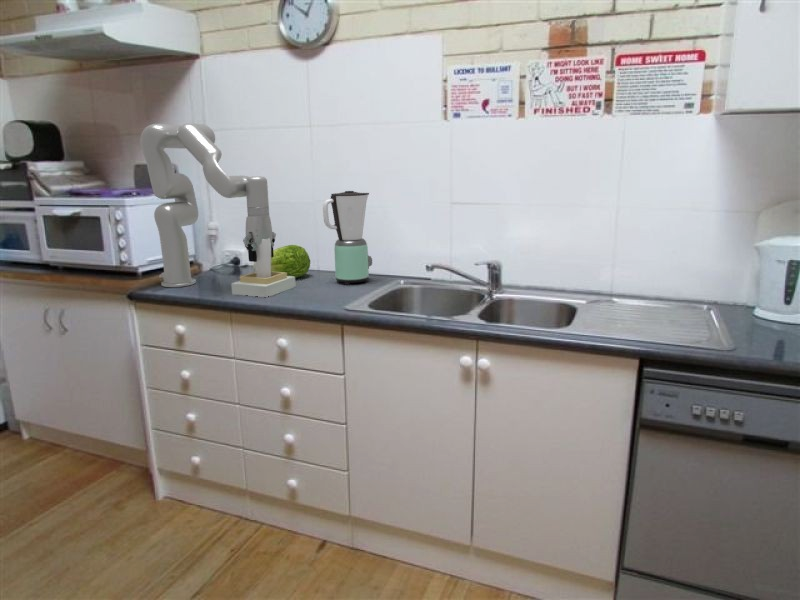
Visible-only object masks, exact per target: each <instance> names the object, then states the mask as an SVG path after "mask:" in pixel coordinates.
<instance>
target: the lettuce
mask: <svg viewBox="0 0 800 600" xmlns="http://www.w3.org/2000/svg"><path fill="white" fill-rule="evenodd" d="M273 254H274V257H271V271H273V272H285V273H287V276H294V277H295V279H297V278H298V279H299V278H300V277H301V276H304V275H306V274H307V273H308V272H309V269H310V267H311V259H310V255H309V253H308V252H307V251H306V249H305V248H304V247H303V246H299V245H296V244H289V245H285V246H281V247H278V248H276V249H273ZM252 267H253V269H254V270H255V264H254V263H253V266H252Z"/></svg>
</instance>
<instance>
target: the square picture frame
mask: <svg viewBox="0 0 800 600" xmlns="http://www.w3.org/2000/svg"><path fill="white" fill-rule="evenodd" d="M296 285H297V284H296V278H295V277H294V276H287V273H285V272H273V271H271V277H268V278H258V277H256V271H253V272H249V273H246V274H244V275H240V276H239V280H238V281H235V282H231V285H230V286H231V294H232V295H237V296H245V295H248V296H247V297H255V296H258V298H264V297H267V298H269V297H272V296H274V295H277V294H279V293H283V292H285V291H288V290H291V289H294V288H296V287H297V286H296ZM268 296H269V297H268Z"/></svg>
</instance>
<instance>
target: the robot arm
mask: <svg viewBox="0 0 800 600" xmlns="http://www.w3.org/2000/svg"><path fill="white" fill-rule="evenodd" d="M215 143H216V135H215V132H214V131H213V129H212V128H211V127H210V126H209V125H206V124H200V123H193V122H192V123H191V122H190V123H188V122H187V123H184V124H182V125H178V124H168V123H153V124H149V125H148V126H145V128H144V129H143V130H142V132H141V135H140V148H141V151H142V154H143V157H144V160H145V161H146V167H147V172H148V175H149V179H150V180H149V181H150V184H151V188H152V191H153V194H154V196H155V197H156V198H158V199H160V200H171V199H174V201H172V202H164V203H161V204H160V205H158V206H157V207H156V208H155V209H154V213H153V214H154V215H153V217H154V221H155V222H154V223H156V224H155V225H156V227H157V231H158V234H159V242H160V243H159V244H160V248H161V249H160V250H161V257H162V264H163V272H161V273H160V274H159V275H158V278H160V279H163V281H161V283H160V284H161V287H164V288H180V287H187V286H192V285H195V284H196V282H197V281H196V278H193V277H192V273H191V266H190V263H191V262H190V254H189V247H188V246H189V245H188V239H187V235H186V233H185V231H184V229H183V227H186V226H187V227H188V226H191V225H193V224H195V223H196V222H197V221H198V218H199V210H198V209H199V208H198V207H199V206H198V204H197V203H198V202H197V199H196V194H195V193H196V192H195V190H194V185H193V183H192V181H191V179H190V178H189V177H188V176H187V175H185V174H184V173H181V172H180V173H179V172H176V173H175V172H174V168H173V164H172V161H171V159H170V157H169V155H168V153H166V151H165V149H186V151H188V152H189V153H190V154H191V156H192V157H193V158H194V159H195V160H196V161H198V163H199V164H200V165H201V166H202V172H203V175H204V178H205V180H206V182H207V183H208V184H209V185H210V186H211V188H213V190H215V192H217V193H218V194H219V195H220V196H221V197H222V198H227V199H233V198H245V197H246V208H247V209H246V210H247V211H246V212H247V216H246V219H245V236H244V238H243V239H242V242H243V245H244V248H246V251H247V253H248V254H247V255H248V262H253V263H254V262H257V253H256V251H255V249H256V246H257V245H259V244H261V242H262V239H268V238H270V241H271V257H274V254H273V250H274V247H275V241H276V236H277V234H276V233H275V232H274V231H273V226H272V221H271V217H270V208H269V207H270V205H269V190H268V188H269V187H268V186H269V185H268V179H267V178H266V177H265V176H248V175H228V173H226V171H224V170H223V169H222V168H221V166H220V165H219V162H220V160H221V158H222V150H221V149H220V148H219V147H218V146H217V145H216V144H215ZM252 245H253V247H252Z"/></svg>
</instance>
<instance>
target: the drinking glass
mask: <svg viewBox="0 0 800 600" xmlns="http://www.w3.org/2000/svg"><path fill="white" fill-rule="evenodd" d="M252 247H253V245H252ZM255 251H256V253H257V262H253V265H254V264H255V269H254V270H255V272H256V277H258V278H268V277H271V241H270V238H268V239H262V242H261V244H259V245H257V246H256V249H255Z"/></svg>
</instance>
